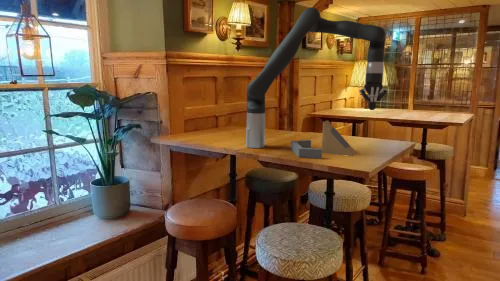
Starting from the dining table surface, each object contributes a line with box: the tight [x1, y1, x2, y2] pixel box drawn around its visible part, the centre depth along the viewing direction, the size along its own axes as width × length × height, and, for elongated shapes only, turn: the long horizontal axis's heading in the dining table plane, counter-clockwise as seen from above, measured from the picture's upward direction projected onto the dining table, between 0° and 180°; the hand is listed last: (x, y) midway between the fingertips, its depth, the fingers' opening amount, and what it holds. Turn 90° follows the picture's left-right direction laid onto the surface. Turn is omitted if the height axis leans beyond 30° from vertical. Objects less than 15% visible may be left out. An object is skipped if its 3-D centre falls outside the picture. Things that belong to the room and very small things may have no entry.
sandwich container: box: [321, 119, 358, 157], centre depth 169 cm, size 9×15×15 cm, turn 64°
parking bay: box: [290, 139, 323, 159], centre depth 169 cm, size 10×24×4 cm, turn 5°
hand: (371, 109), depth 168 cm, fingers closed
